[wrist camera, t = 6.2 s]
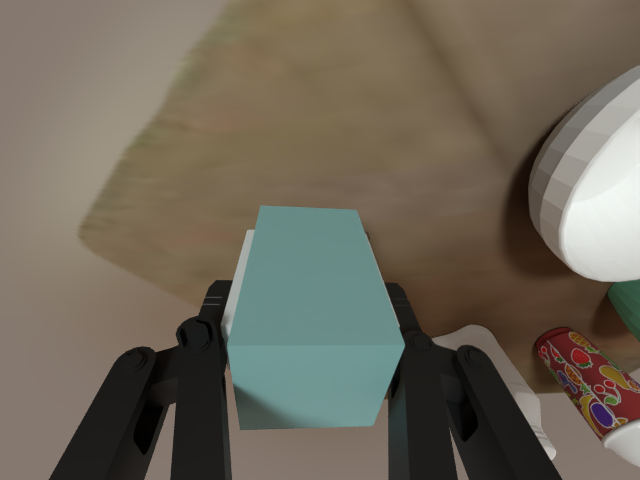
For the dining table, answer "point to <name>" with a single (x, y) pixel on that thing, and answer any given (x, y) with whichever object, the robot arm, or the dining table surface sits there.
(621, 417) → the smoothie
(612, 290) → the mug
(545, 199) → the bowl
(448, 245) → the dining table surface
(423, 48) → the dining table surface
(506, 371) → the jar
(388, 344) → the teal rectangular block
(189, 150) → the dining table surface
